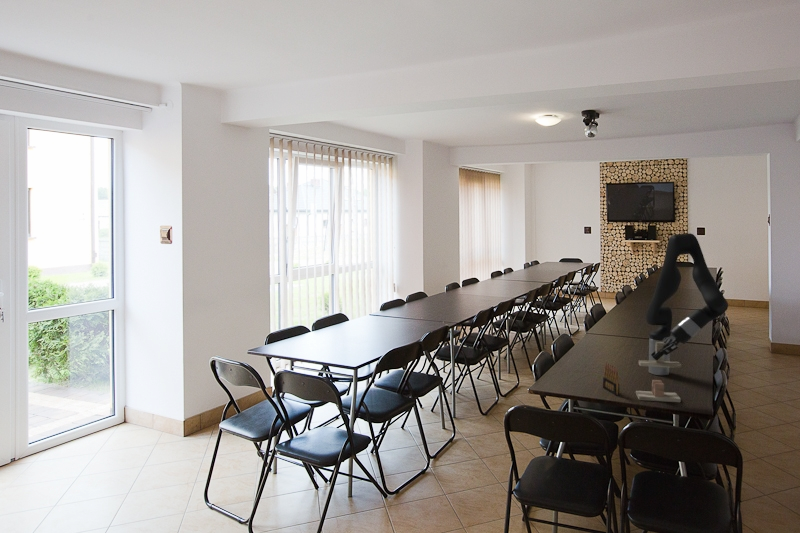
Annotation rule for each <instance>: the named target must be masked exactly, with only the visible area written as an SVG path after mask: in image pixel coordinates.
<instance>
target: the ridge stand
mask: <svg viewBox="0 0 800 533" xmlns="http://www.w3.org/2000/svg"><path fill="white" fill-rule="evenodd" d="M635 394H636V397H637V398H638V400H639V401H650V402H651V401H652V402H653V401H654V402H666V403H667V402H668V403H681V400H682V399H681V397H680V396H679V395H678V394H677V392H668V391H667V392H666V391H665V383H663V381H662V380H661V379H651V390H650V391H649V390H648V391H647V390H646V391H645V390H635Z"/></svg>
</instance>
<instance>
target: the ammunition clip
mask: <svg viewBox="0 0 800 533" xmlns="http://www.w3.org/2000/svg"><path fill="white" fill-rule="evenodd" d="M619 381H620V379H619V369H618V367H616V366H614V365H611V364H609V363H607V362H605V364H604V371H603V379H602V389H603V390H606V391H607V392H609V393H611V394H613V395H614V396H619V395H620V382H619Z"/></svg>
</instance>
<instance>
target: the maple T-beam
mask: <svg viewBox="0 0 800 533" xmlns="http://www.w3.org/2000/svg"><path fill="white" fill-rule="evenodd" d="M664 344H665V343H664V342H656V345H655V354H656V353H657V352H658V351H660V349H662V348H663V345H664ZM637 361H638V363H637V364H638V365H639V366H640V367H649V366H651V367H669V368H672V369H673V368H674V369H682V363H680V362H679V361H669V362H667V361H664V355H663V356H662V357H660V358H659V359H658V360H655V361H649V360H646V359H641V360H640V359H639V360H637Z"/></svg>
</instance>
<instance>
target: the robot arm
mask: <svg viewBox="0 0 800 533" xmlns="http://www.w3.org/2000/svg"><path fill="white" fill-rule="evenodd" d="M665 249H666V250H665V255H664V259H663V263H662V266H661V270H660V272H659V273H660V274H659V275H658V279H657V282H656V287H655V291H654V293H653V296H652V298H651V301H650V302H649V305H648V308H647V310H646V314H645V319H646V322H647V324H648V325H650V326H659V327H658V328H657V329H655V330H651V331H650V332H649V337H648V338H649V340H648V342H649V343H648V361H655V360H658V359H659V358H660V357H662V356H663V355H664V361H667V362H671V360H670V358H671V357H670V356H671V353H672V352H675V350H677V349H678V345H679V344H680V343H681V344H683V345H685V344H686V343H687V342H689V341H690V340H691V339H692V338H694V337H695V336H696V335H697V334H698V333H699V331H700V332H701V330H702V329H703V328H704V327H705V326H706V325H708V324H709V323H710V322H712V321H714V320H716V319H718V318H719V317H720V316H722V315H723V314H725V312H726V311H727V310H728V308H729V303H728V301H727V299H726V297H725V296H724V294H722V291H721V290H720V288H719V287H718V284H717V282H716V280H715V279H714V277H713V275H712V274H711V271H710V270H709V267H708V265H707V263H706V259H705V256H704V254H703V251H702V248H701V244H700V242H699V240H698V239H697V237H696V235H694V233H691V232H690V233H688V232H687V233H679V234H678V233H677V234H673V235H671V236H669V239H668V241H667V245H666V248H665ZM683 255H689V256H690V257H691V258H692V261H693V266H692V271H691V272H692V275H691V276H692V278H693V282H694V284H695V286H696V287H697V289H698V291H699V292H700V293H701V296H702V298H703V300H704V302H705V304H706V305H705V306H704V307H702V308H697V309H695V310H693V311H692V312H691V313H690V314H689V315H688V316H687V317H685V318H684V319H682V320H681V321H679V323H677V324H676V325H675V326H674V327H673V328H672V325H673V312H672V309H671V308H670V307H669V306H663V305H664V303H665V302H667V301H668V300H669V299H670V298H672V297H673V296H674V295H675V294H676V293H677V292H678V290H679V287H680V284H681V281H682V274H681V272H680V270H679V268H678V265H677V262H678V259H679V256H683ZM671 334H672V335H671ZM656 342H664V343H665V344H664V345H663V348H662V349H660V351H658V352H657V353H656V354H655V345H656ZM648 373H649V374H651V375H656V376H668V375H669V374H670V367H651V366H648Z"/></svg>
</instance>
